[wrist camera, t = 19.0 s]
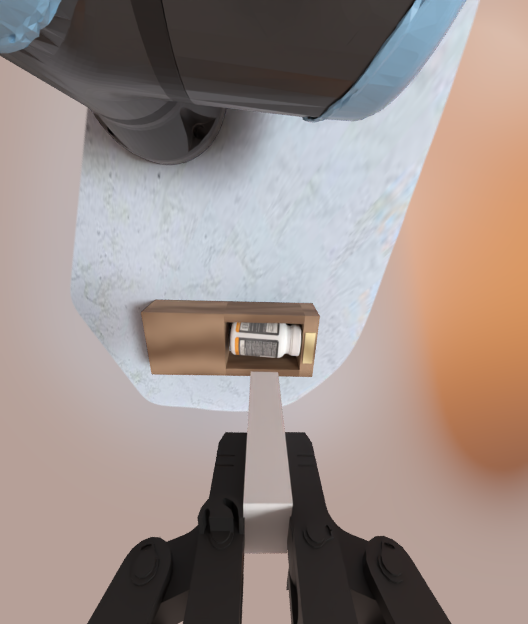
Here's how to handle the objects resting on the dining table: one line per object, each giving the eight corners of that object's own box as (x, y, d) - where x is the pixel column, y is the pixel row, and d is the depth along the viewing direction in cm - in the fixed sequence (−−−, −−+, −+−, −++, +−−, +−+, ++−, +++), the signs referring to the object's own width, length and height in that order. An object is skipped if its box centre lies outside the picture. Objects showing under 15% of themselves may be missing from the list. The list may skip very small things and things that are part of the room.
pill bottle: (234, 350, 40) (295, 355, 39) (227, 357, 34) (299, 363, 34) (237, 315, 39) (298, 320, 39) (231, 316, 34) (303, 322, 33)
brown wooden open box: (155, 299, 37) (140, 312, 33) (312, 303, 38) (320, 316, 33) (163, 356, 41) (151, 375, 36) (306, 358, 42) (312, 377, 37)
